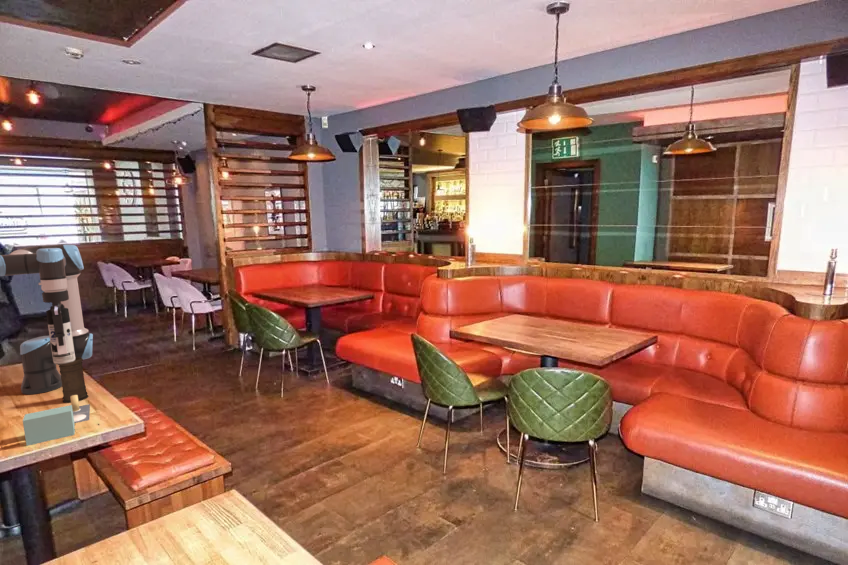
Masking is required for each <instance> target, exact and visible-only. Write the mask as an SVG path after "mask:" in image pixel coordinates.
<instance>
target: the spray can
mask: <svg viewBox="0 0 848 565" xmlns="http://www.w3.org/2000/svg"><path fill="white" fill-rule="evenodd" d="M45 313H46V320H47V327H48V328H47V329H48V334H49V336H50V342H51V349H52V356H53V362H54V364H56V365H58V364H66V363H70V362H73V361H75V351H74V344H73V337H72V330H71V323H70V317H69V311H68V308H64V310H61V317H62V315H63V314H64V317H63V318H62V320H63V327H64V334H65V338H66V345H67V352H68V353H67V354H61V355H58V350H57V343H56V338H53V336H55V331H54V323H53V318H52V317H53V316H52V312H51V311H50V309H47V310H46V311H45ZM60 333H61V332H60Z"/></svg>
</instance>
